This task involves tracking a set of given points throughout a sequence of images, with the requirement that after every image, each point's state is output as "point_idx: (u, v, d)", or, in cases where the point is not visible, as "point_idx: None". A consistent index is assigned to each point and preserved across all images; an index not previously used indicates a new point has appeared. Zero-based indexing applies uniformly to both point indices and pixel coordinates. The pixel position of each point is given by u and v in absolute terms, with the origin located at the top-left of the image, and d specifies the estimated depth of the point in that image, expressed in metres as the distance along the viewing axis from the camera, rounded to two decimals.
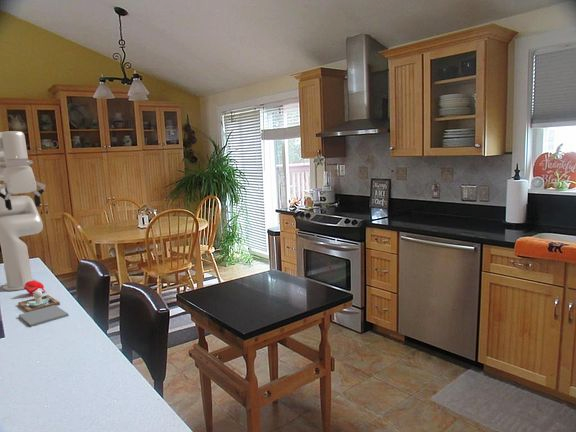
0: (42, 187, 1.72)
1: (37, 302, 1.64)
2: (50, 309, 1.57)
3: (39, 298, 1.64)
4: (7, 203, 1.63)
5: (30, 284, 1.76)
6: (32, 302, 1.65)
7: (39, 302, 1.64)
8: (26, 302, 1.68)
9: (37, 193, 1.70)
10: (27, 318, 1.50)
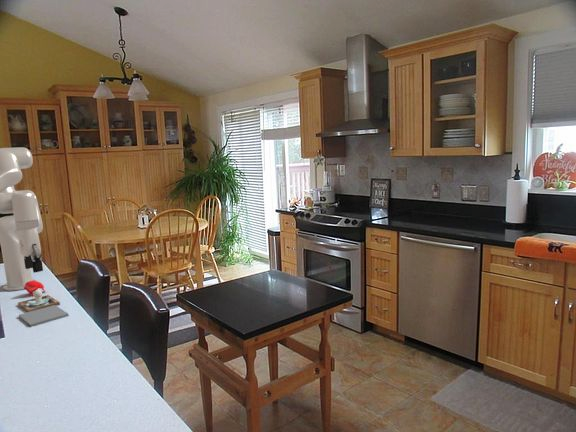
0: None
1: (37, 302, 1.64)
2: (50, 309, 1.57)
3: (39, 298, 1.65)
4: (40, 264, 1.59)
5: (30, 284, 1.76)
6: (32, 302, 1.65)
7: (39, 302, 1.65)
8: (26, 302, 1.68)
9: None
10: (27, 318, 1.50)
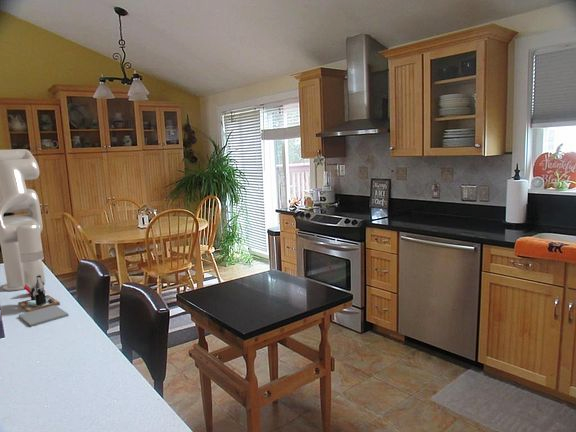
0: None
1: None
2: (50, 309, 1.57)
3: None
4: (43, 297, 1.63)
5: None
6: (32, 301, 1.65)
7: None
8: (26, 302, 1.68)
9: None
10: (27, 318, 1.50)
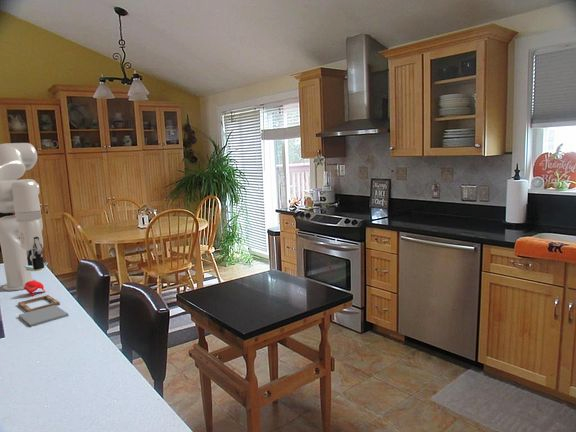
0: None
1: None
2: (50, 309, 1.57)
3: None
4: (41, 261, 1.49)
5: (30, 284, 1.76)
6: (29, 266, 1.51)
7: None
8: (26, 302, 1.68)
9: None
10: (27, 318, 1.50)
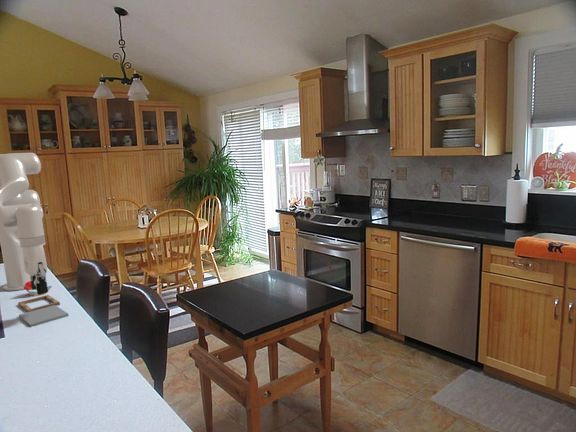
0: None
1: None
2: (50, 309, 1.57)
3: None
4: (44, 286, 1.49)
5: (30, 284, 1.76)
6: (33, 291, 1.52)
7: None
8: (26, 302, 1.68)
9: None
10: (27, 318, 1.50)
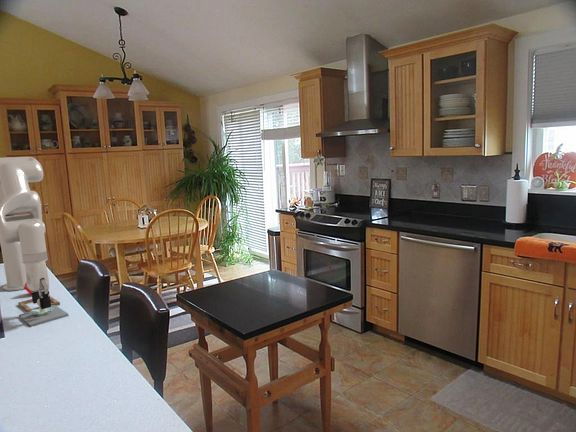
0: None
1: (41, 310, 1.52)
2: None
3: None
4: (48, 300, 1.49)
5: None
6: (35, 310, 1.53)
7: (43, 310, 1.53)
8: (26, 302, 1.68)
9: None
10: (27, 318, 1.50)
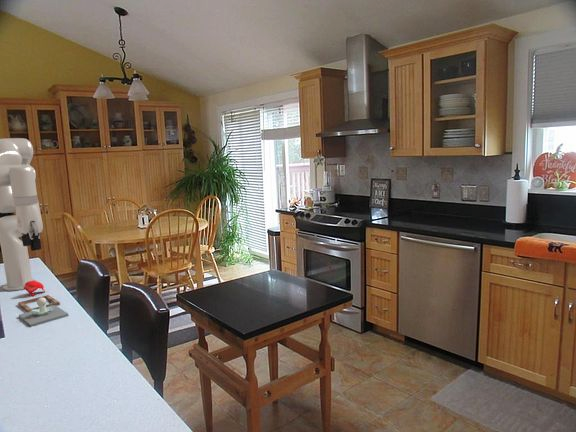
0: None
1: (41, 310, 1.52)
2: None
3: (43, 306, 1.52)
4: (38, 242, 1.53)
5: (30, 284, 1.75)
6: (35, 310, 1.53)
7: (43, 310, 1.53)
8: (26, 302, 1.68)
9: None
10: (27, 318, 1.50)
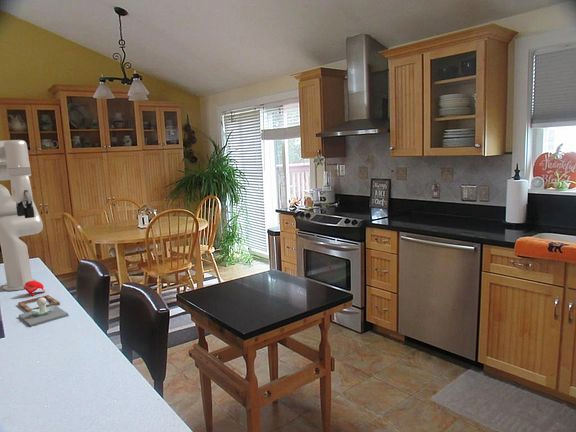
0: None
1: (41, 310, 1.52)
2: None
3: (43, 306, 1.52)
4: (31, 210, 1.65)
5: (30, 284, 1.75)
6: (35, 310, 1.53)
7: (43, 310, 1.53)
8: (26, 302, 1.68)
9: None
10: (27, 318, 1.50)
